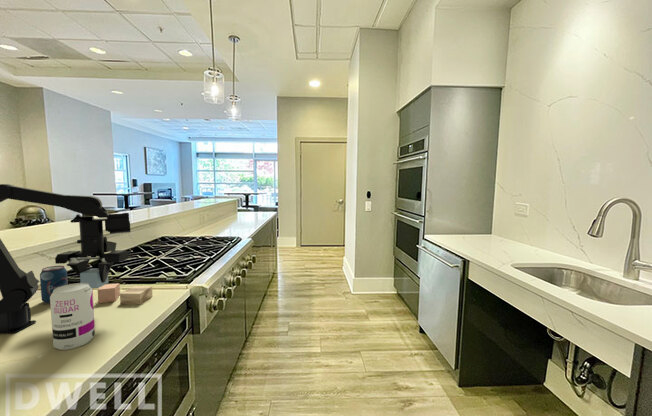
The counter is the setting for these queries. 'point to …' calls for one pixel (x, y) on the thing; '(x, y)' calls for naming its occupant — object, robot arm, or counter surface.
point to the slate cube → (92, 278)
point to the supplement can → (72, 315)
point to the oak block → (136, 295)
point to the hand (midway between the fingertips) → (94, 282)
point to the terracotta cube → (108, 293)
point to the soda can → (52, 281)
